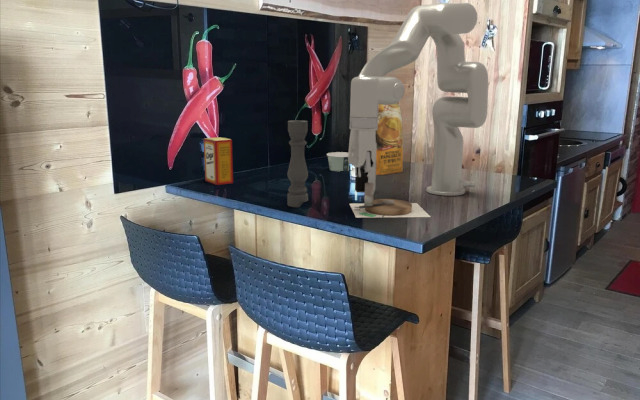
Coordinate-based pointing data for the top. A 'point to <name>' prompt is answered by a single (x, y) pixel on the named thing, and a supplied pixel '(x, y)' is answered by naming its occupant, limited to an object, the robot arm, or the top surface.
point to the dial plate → (362, 213)
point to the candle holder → (297, 163)
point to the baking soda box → (218, 160)
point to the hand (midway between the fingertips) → (361, 191)
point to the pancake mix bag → (389, 140)
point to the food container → (338, 161)
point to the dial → (384, 204)
